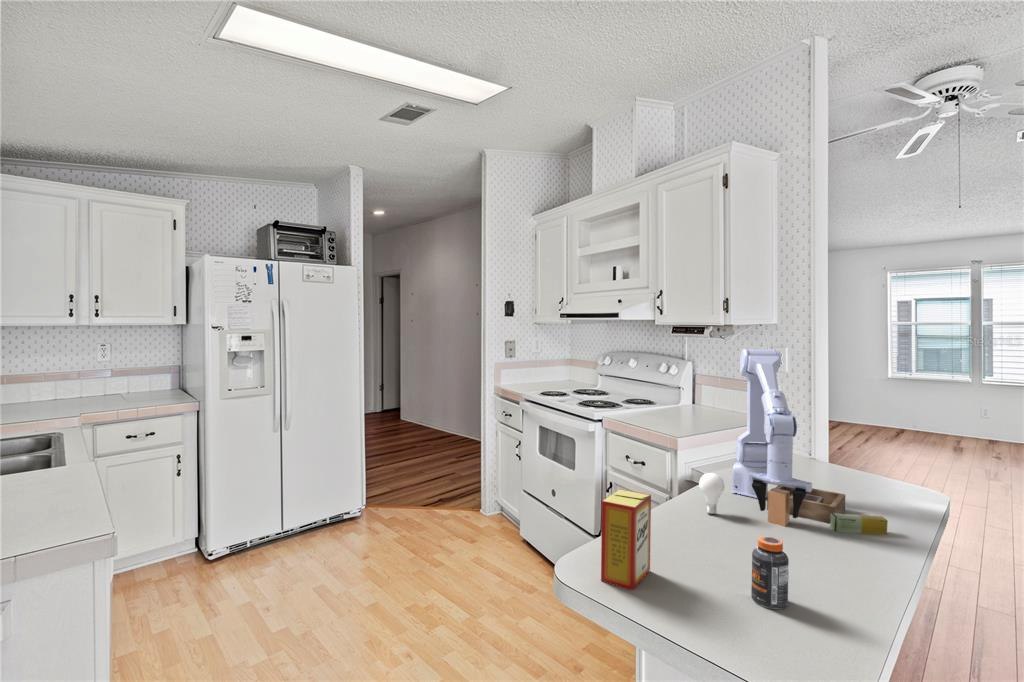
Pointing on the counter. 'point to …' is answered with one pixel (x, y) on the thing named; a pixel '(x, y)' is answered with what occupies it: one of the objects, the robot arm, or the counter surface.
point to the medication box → (858, 523)
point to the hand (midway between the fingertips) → (778, 513)
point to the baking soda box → (625, 538)
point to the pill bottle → (770, 573)
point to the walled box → (817, 504)
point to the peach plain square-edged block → (778, 506)
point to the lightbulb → (711, 490)
